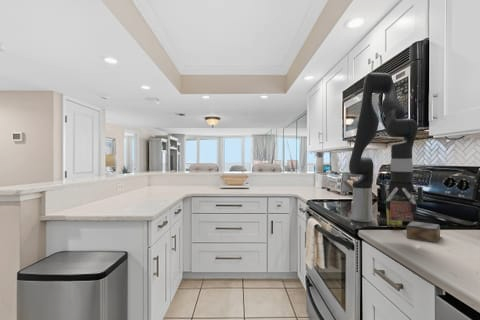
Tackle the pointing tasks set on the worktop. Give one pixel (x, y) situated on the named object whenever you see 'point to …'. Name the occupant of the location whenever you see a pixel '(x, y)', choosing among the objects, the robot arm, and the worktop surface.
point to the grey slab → (423, 231)
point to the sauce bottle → (389, 222)
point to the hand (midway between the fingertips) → (401, 211)
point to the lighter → (401, 209)
